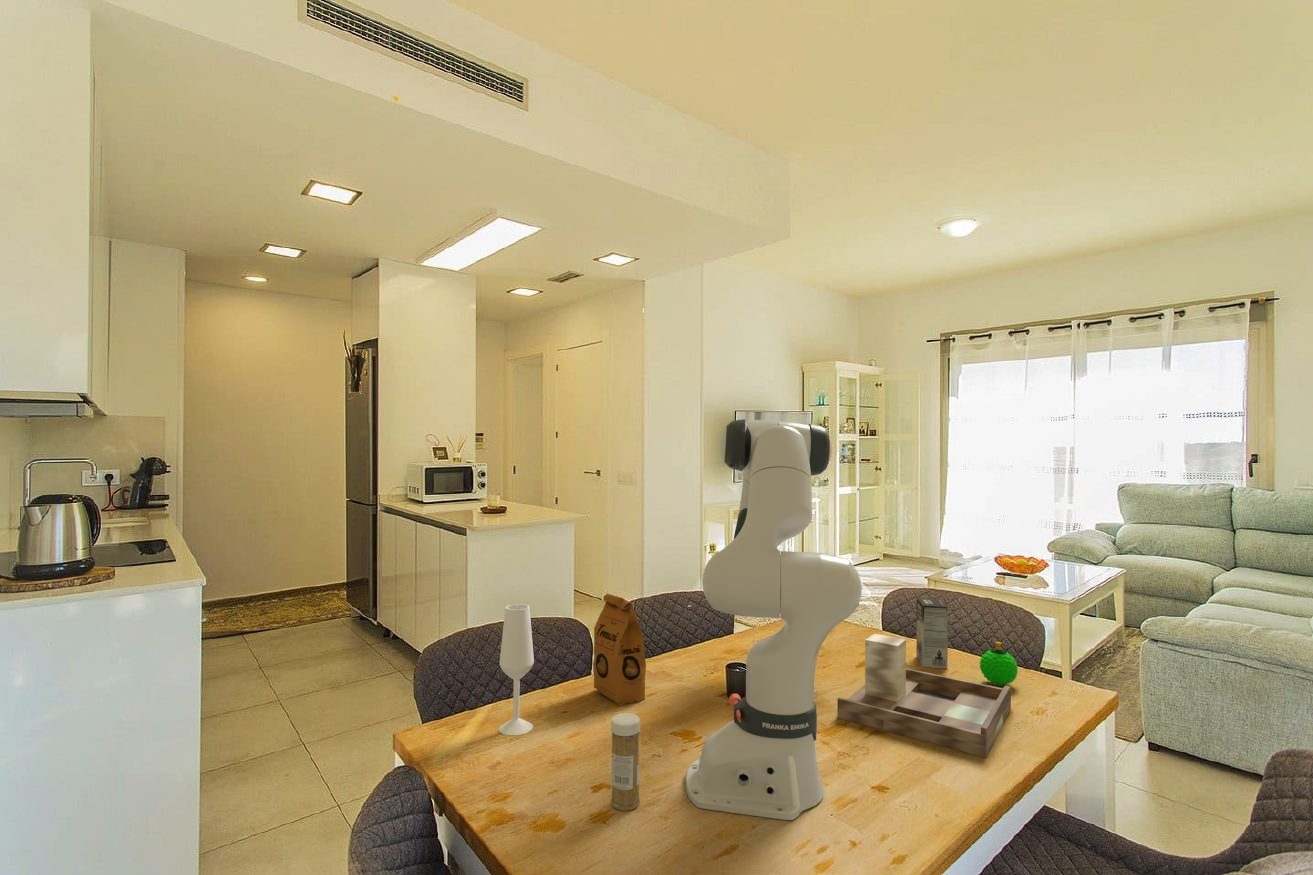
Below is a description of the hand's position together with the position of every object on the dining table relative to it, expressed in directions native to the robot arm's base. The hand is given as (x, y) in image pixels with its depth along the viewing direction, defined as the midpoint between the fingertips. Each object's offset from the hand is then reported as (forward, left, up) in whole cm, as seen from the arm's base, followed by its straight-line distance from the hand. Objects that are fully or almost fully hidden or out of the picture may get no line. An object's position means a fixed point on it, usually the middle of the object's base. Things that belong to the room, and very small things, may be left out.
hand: (852, 606), depth 147 cm
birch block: (+6, -4, -18) cm, 20 cm away
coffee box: (+27, +24, -20) cm, 41 cm away
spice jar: (-48, -47, -20) cm, 70 cm away
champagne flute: (-72, -21, -20) cm, 78 cm away
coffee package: (-53, -3, -20) cm, 57 cm away
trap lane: (+13, -9, -20) cm, 26 cm away
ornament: (+37, +9, -20) cm, 43 cm away
